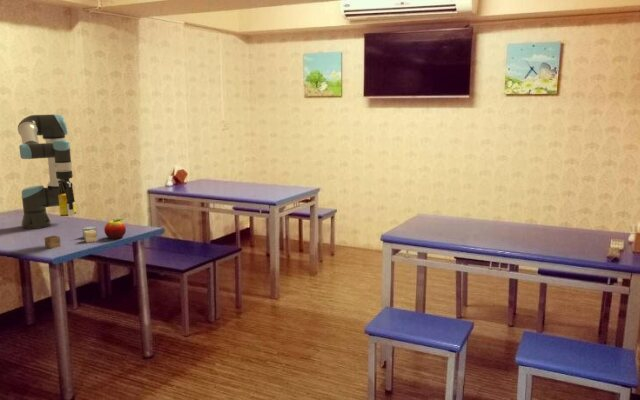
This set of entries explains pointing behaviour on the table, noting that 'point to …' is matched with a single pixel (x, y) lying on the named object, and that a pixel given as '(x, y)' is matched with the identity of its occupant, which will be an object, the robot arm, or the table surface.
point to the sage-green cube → (89, 230)
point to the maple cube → (90, 236)
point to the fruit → (115, 229)
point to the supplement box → (64, 205)
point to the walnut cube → (52, 241)
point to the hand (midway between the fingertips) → (68, 214)
